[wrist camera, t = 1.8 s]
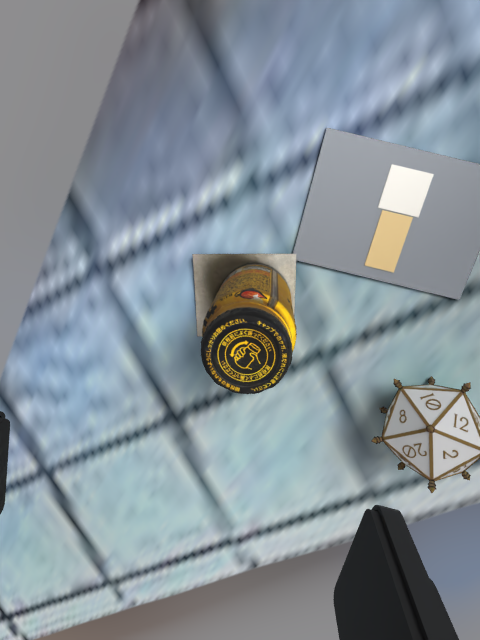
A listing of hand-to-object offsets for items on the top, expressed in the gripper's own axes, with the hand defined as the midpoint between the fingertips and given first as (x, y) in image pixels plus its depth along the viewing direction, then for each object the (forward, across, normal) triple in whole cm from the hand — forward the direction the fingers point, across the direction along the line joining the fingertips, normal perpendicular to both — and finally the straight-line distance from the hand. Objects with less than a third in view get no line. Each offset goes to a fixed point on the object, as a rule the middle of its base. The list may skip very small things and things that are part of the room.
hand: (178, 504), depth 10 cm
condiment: (+24, 0, 0) cm, 24 cm away
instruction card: (+24, -10, -9) cm, 28 cm away
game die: (+25, -17, +6) cm, 30 cm away
